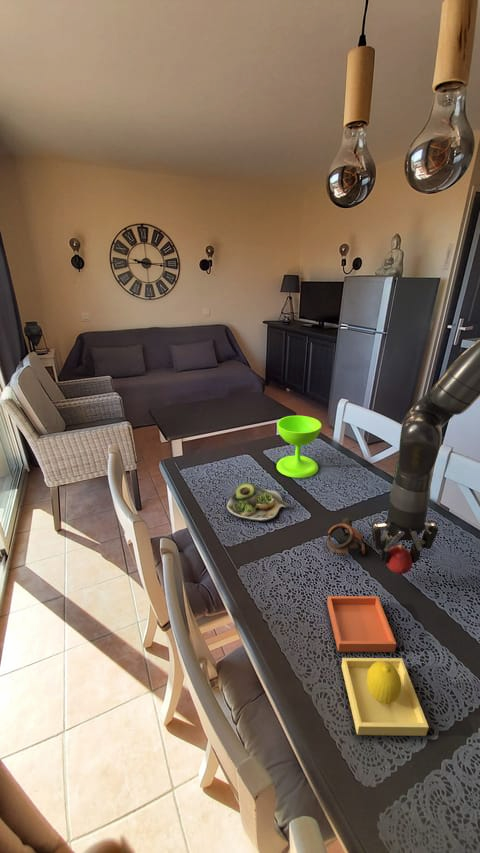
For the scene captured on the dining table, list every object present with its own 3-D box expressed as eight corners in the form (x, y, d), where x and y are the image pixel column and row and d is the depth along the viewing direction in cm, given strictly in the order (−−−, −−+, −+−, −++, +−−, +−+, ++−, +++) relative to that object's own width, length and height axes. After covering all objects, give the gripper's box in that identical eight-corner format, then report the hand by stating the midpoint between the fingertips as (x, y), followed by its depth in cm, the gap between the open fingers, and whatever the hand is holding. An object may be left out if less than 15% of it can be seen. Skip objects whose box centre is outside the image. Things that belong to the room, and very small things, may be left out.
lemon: (397, 718, 61) (405, 689, 58) (363, 706, 63) (368, 678, 59) (397, 686, 66) (403, 657, 62) (365, 675, 67) (370, 647, 64)
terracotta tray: (376, 604, 82) (377, 596, 81) (394, 652, 72) (396, 643, 71) (327, 603, 82) (327, 596, 81) (338, 652, 72) (339, 643, 71)
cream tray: (400, 666, 69) (402, 658, 68) (426, 735, 59) (428, 727, 58) (341, 666, 70) (342, 657, 69) (357, 735, 59) (358, 726, 58)
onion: (415, 578, 83) (421, 551, 80) (394, 584, 82) (398, 557, 79) (398, 560, 88) (403, 534, 85) (378, 566, 87) (382, 540, 84)
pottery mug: (369, 564, 93) (357, 546, 89) (334, 569, 98) (322, 552, 94) (365, 525, 102) (355, 508, 99) (333, 531, 107) (322, 514, 103)
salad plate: (295, 496, 121) (295, 484, 119) (281, 529, 106) (281, 517, 104) (241, 485, 127) (240, 474, 126) (221, 516, 112) (220, 504, 110)
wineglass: (268, 470, 137) (268, 426, 129) (288, 453, 149) (289, 412, 141) (307, 482, 128) (310, 437, 121) (325, 463, 140) (328, 420, 133)
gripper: (380, 512, 74) (372, 573, 81) (452, 510, 73) (437, 572, 80) (369, 491, 81) (362, 549, 87) (435, 489, 80) (423, 548, 87)
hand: (398, 560), depth 84 cm, fingers closed on onion, 5 cm apart
